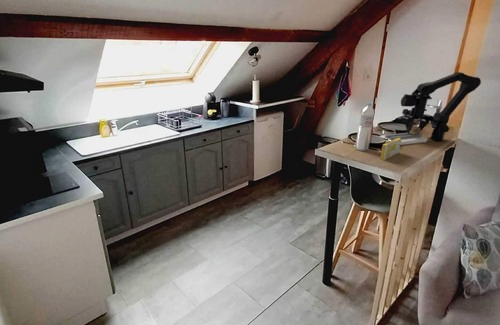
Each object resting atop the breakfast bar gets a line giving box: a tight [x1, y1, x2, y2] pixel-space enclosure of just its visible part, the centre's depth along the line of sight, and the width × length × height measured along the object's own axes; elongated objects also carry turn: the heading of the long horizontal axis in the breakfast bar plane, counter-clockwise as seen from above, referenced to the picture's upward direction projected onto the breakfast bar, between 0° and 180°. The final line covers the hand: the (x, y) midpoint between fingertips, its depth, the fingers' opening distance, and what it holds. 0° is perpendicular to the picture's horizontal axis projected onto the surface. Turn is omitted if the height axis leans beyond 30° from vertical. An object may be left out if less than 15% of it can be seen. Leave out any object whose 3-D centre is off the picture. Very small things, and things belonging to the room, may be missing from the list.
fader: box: [409, 125, 421, 135], centre depth 173 cm, size 4×5×5 cm
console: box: [379, 132, 428, 146], centre depth 173 cm, size 24×12×4 cm, turn 108°
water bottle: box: [354, 103, 376, 152], centre depth 154 cm, size 7×7×25 cm
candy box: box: [380, 138, 401, 161], centre depth 149 cm, size 16×2×8 cm, turn 129°
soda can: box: [369, 124, 374, 143], centre depth 166 cm, size 7×7×12 cm
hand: (413, 132), depth 174 cm, fingers open, 8 cm apart
